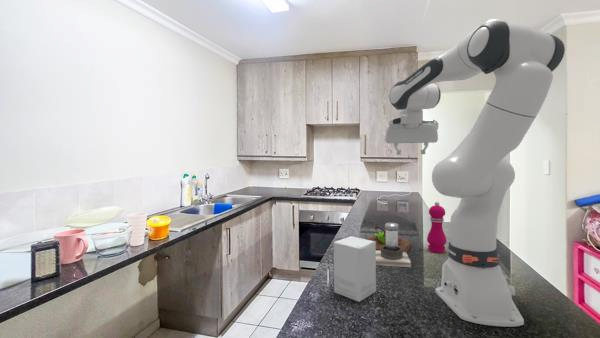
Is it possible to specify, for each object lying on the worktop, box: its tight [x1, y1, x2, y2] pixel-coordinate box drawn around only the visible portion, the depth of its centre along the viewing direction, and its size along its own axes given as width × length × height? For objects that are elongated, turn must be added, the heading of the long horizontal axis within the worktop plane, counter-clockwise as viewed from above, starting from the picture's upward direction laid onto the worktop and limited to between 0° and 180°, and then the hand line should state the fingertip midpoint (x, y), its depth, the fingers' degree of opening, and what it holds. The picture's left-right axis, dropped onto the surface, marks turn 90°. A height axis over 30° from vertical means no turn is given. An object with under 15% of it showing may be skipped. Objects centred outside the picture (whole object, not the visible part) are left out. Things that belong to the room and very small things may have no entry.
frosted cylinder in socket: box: [384, 222, 399, 251], centre depth 112 cm, size 5×5×12 cm
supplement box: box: [333, 235, 377, 303], centre depth 88 cm, size 9×9×15 cm
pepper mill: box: [426, 201, 448, 254], centre depth 122 cm, size 7×7×20 cm
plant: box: [365, 225, 412, 254], centre depth 128 cm, size 20×20×11 cm
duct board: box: [376, 245, 412, 268], centre depth 113 cm, size 12×12×4 cm
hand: (410, 154), depth 124 cm, fingers open, 8 cm apart
